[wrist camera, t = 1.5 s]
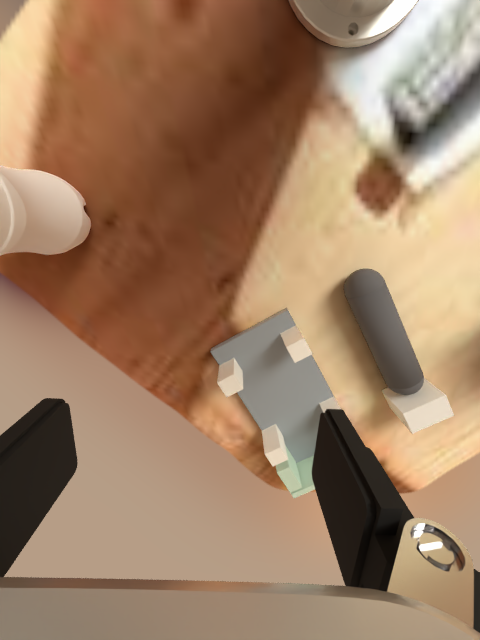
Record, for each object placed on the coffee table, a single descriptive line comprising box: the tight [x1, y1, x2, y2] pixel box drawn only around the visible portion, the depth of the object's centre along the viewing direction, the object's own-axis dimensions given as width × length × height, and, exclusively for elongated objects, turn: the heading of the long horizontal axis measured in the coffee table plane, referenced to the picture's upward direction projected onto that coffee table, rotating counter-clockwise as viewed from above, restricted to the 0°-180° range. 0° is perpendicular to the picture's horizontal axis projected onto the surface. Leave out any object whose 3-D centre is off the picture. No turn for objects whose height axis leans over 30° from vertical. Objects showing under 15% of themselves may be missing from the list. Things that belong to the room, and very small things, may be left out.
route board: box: [210, 308, 341, 498], centre depth 33 cm, size 10×20×5 cm, turn 30°
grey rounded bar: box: [344, 269, 454, 434], centre depth 31 cm, size 19×5×5 cm, turn 30°
